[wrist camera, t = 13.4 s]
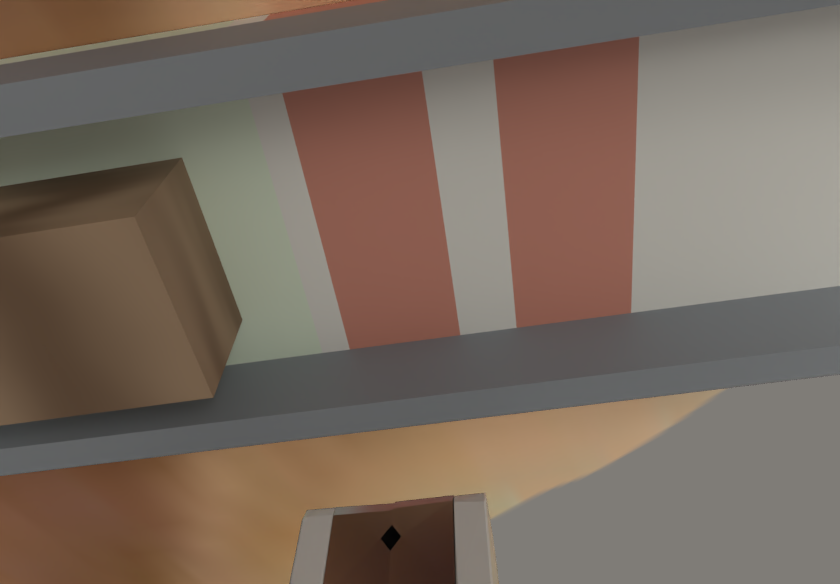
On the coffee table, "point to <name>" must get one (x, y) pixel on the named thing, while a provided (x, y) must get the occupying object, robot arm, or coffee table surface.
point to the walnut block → (109, 294)
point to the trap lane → (465, 206)
